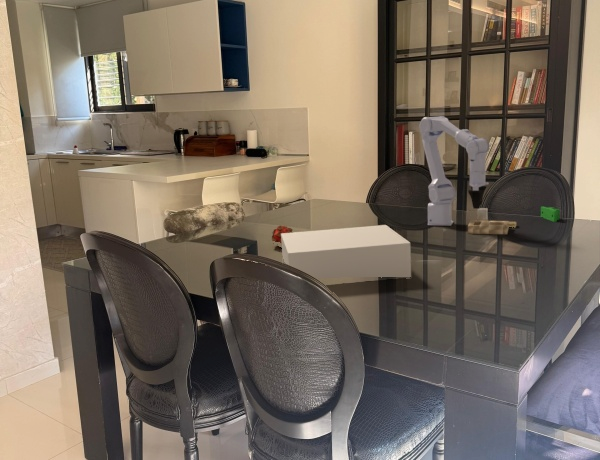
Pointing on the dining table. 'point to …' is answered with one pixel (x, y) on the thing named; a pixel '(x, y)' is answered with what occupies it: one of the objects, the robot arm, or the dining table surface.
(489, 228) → the socket block
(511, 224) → the tan rectangular block
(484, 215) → the square bit
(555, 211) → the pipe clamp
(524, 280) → the dining table surface
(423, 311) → the dining table surface
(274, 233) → the dragon fruit
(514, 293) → the dining table surface
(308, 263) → the box
